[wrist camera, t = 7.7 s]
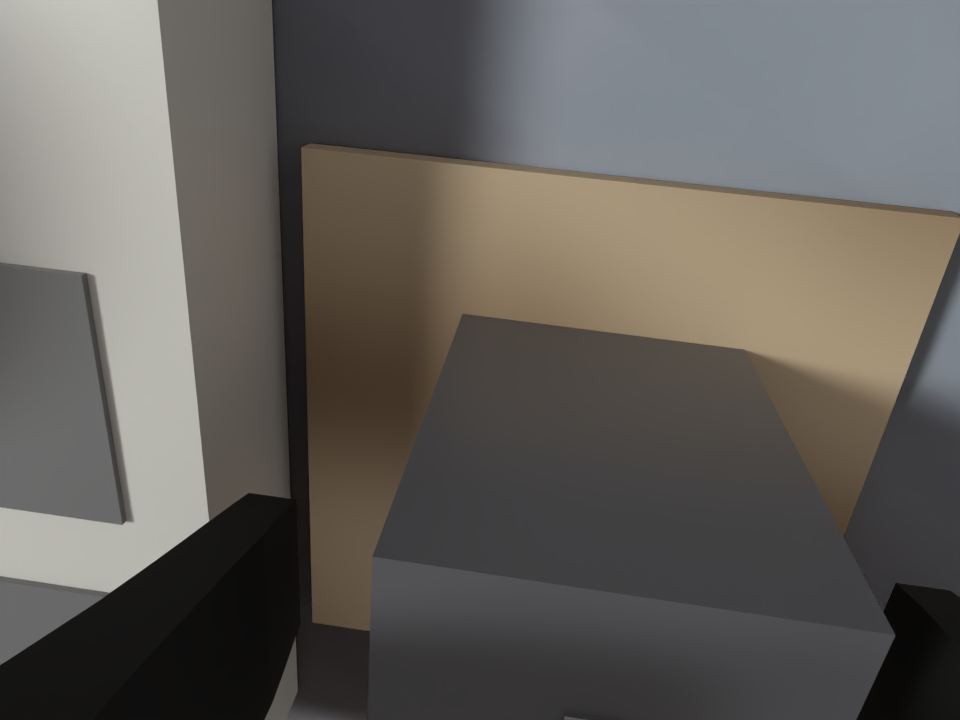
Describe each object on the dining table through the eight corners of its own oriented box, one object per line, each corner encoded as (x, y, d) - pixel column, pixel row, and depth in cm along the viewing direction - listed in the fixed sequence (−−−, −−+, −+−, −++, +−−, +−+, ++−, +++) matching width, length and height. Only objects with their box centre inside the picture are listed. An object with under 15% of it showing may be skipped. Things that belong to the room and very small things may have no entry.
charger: (683, 568, 12) (759, 939, 7) (443, 533, 13) (360, 868, 8) (743, 349, 11) (900, 643, 6) (462, 313, 11) (369, 562, 6)
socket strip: (297, 691, 15) (224, 868, 12) (33, 648, 16) (-106, 809, 13) (242, -786, 7) (-56, -1516, 4) (-338, -796, 7) (-1077, -1463, 4)
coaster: (778, 676, 14) (783, 693, 13) (319, 607, 14) (312, 622, 14) (950, 211, 10) (965, 219, 9) (310, 143, 10) (301, 147, 10)
